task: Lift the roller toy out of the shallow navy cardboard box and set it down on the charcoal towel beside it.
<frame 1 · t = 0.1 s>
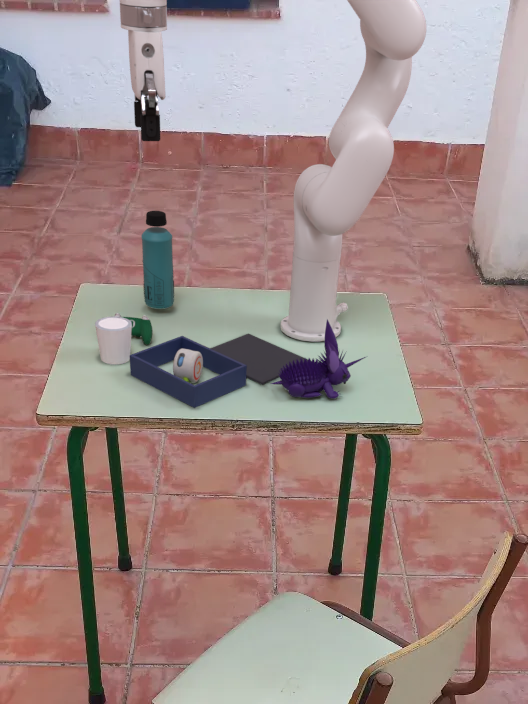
hand: (147, 133, 156), 37 cm above the table, tool pointing down, fingers open, 9 cm apart
beverage bottle: (159, 311, 191), on the table
roller toy: (188, 381, 166), resting in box
creature: (316, 392, 165), on the table
white cup: (115, 359, 172), on the table
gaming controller: (130, 339, 179), on the table
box: (188, 380, 166), on the table
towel: (255, 359, 174), on the table
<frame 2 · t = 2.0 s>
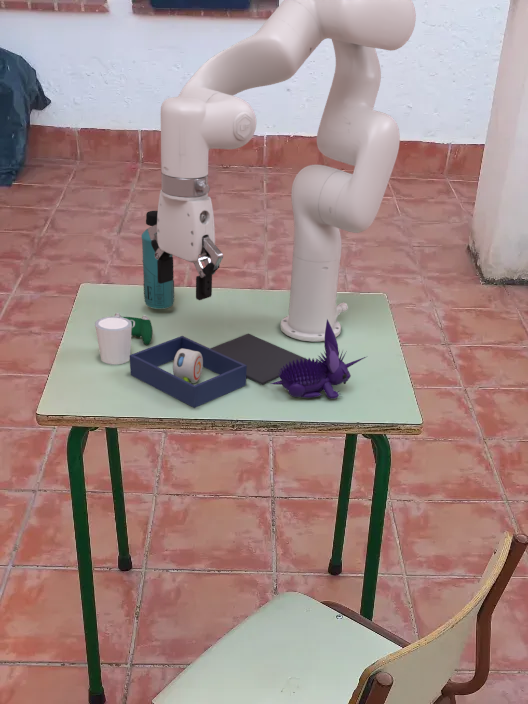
hand: (184, 289, 156), 17 cm above the table, tool pointing down, fingers open, 9 cm apart
nothing on the table moved.
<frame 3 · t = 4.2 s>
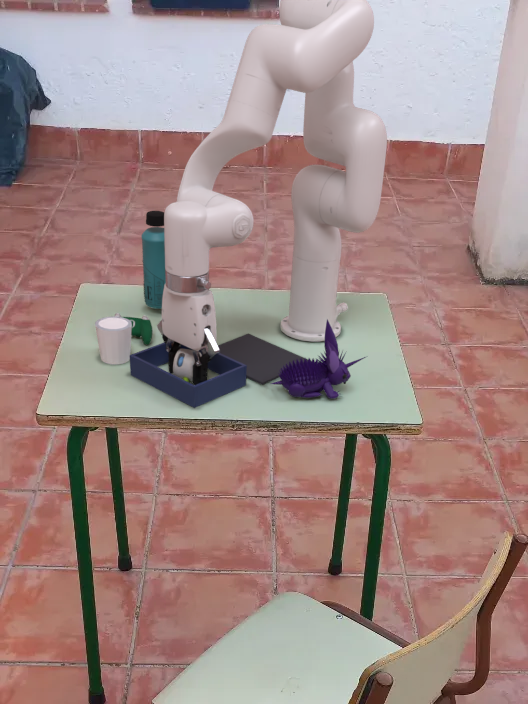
hand: (188, 376, 166), 1 cm above the table, tool pointing down, fingers closed on roller toy, 5 cm apart
roller toy: (188, 381, 166), resting in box, touching gripper
everything else where it was.
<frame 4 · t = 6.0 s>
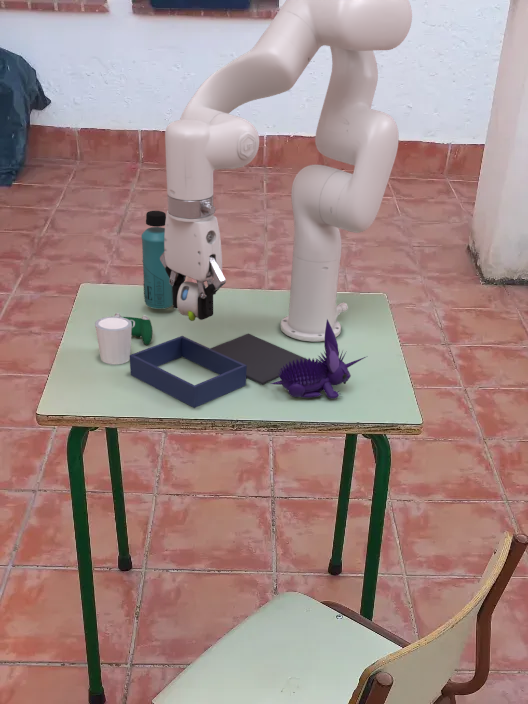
hand: (193, 310, 158), 13 cm above the table, tool pointing down, fingers closed on roller toy, 5 cm apart
roller toy: (193, 316, 159), point 12 cm above the table, touching gripper
everything else where it was.
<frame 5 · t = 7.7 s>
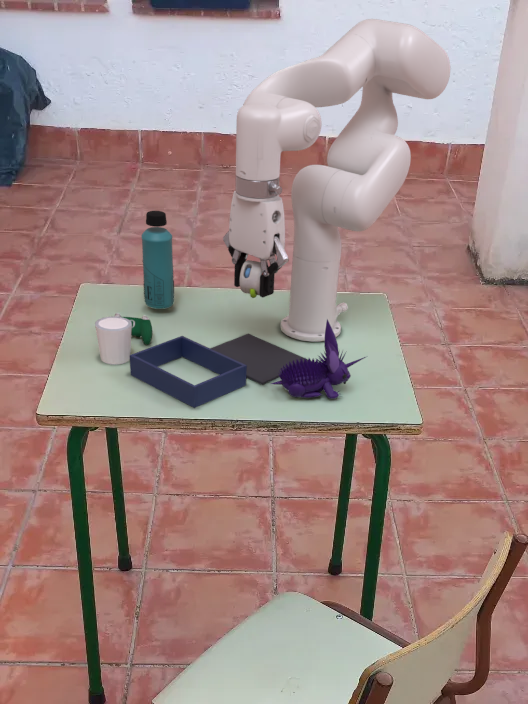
hand: (253, 289, 165), 14 cm above the table, tool pointing down, fingers closed on roller toy, 5 cm apart
roller toy: (253, 294, 166), point 13 cm above the table, touching gripper
everything else where it was.
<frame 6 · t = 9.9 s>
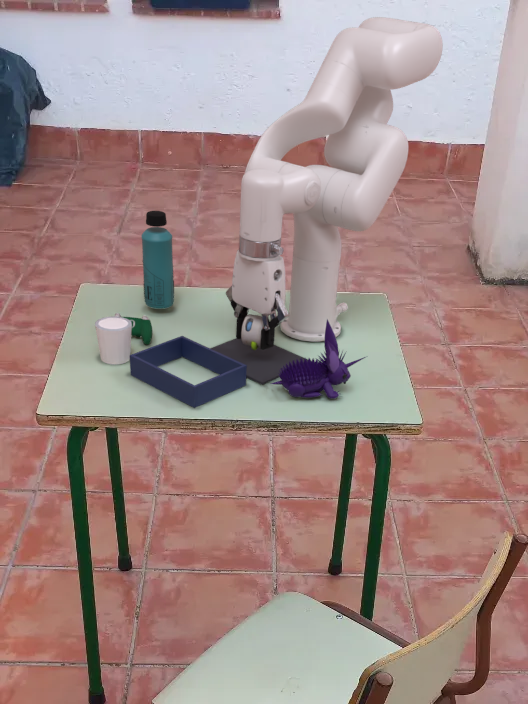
hand: (254, 341, 172), 4 cm above the table, tool pointing down, fingers closed on roller toy, 5 cm apart
roller toy: (254, 346, 172), point 3 cm above the table, touching gripper
everything else where it was.
when the fingers open (1 cm above the table, at t = 11.1 s): roller toy stays where it is, resting on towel.
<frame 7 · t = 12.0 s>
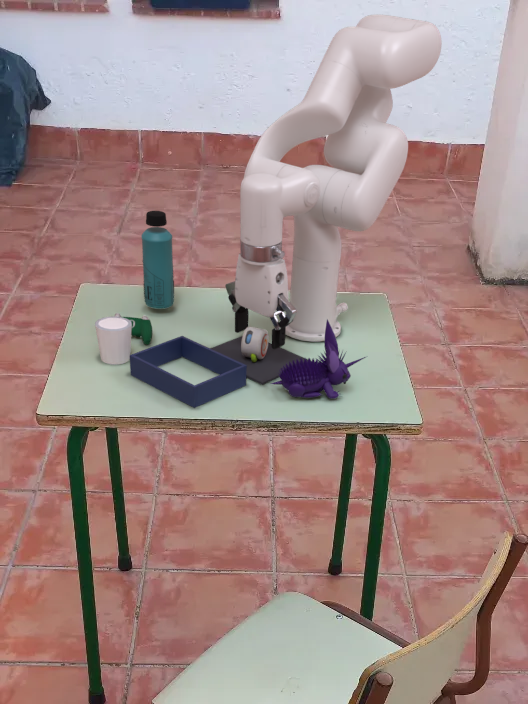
hand: (259, 338, 173), 4 cm above the table, tool pointing down, fingers open, 9 cm apart
roller toy: (254, 358, 174), resting on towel
everything else where it was.
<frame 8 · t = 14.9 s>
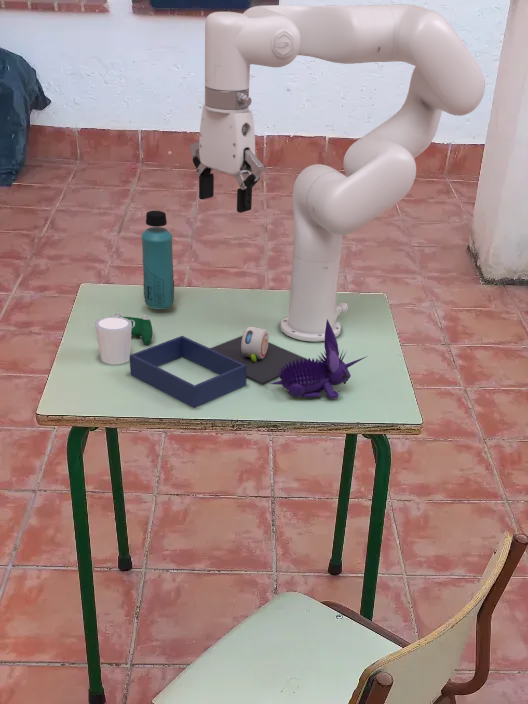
hand: (224, 204, 163), 26 cm above the table, tool pointing down, fingers open, 9 cm apart
nothing on the table moved.
at the end: roller toy inside the target area on the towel (0.2 cm from its centre), point 0.3 cm above the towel's base; roller toy touching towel; the gripper is holding nothing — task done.
